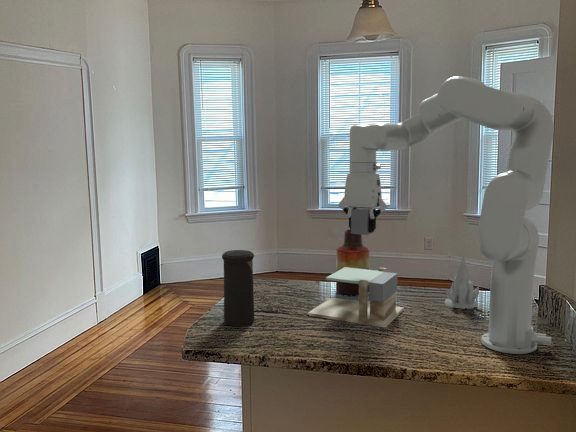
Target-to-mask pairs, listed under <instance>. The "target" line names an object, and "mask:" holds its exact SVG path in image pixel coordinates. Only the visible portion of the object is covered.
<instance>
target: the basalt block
mask: <svg viewBox="0 0 576 432" xmlns="http://www.w3.org/2000/svg"><path fill="white" fill-rule="evenodd" d="M369 219H370V214H369V210H368V208H355V209H351V234H362V236H363V235H365V236H369V235H370V234H373V233H374V232H371V233H369Z"/></svg>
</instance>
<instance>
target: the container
mask: <svg viewBox="0 0 576 432" xmlns="http://www.w3.org/2000/svg"><path fill="white" fill-rule="evenodd" d="M221 257H222V260H223V323H224V325H227V326H231V327H244V326H248V325H252V324H253V323H254V322H255V300H254V299H255V296H254V266H253V265H254V264H253V263H254V262H253V260H254V258H255V254H254V253H253V252H252V251H250V250H245V249H232V250H227V251H225V252H223V253H222V255H221Z"/></svg>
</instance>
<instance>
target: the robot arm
mask: <svg viewBox="0 0 576 432" xmlns="http://www.w3.org/2000/svg"><path fill="white" fill-rule="evenodd" d="M461 120H466V121H469V122H472V123H474V124H477V125H479V126H482V127H485V128H488V129H490V130H494V131H513V132H514V138H513V141H512V144H511V146H510V149H509V152H508V153H509V154H508V161H507V165H506V169H505V172H502V173H499V174H497V175H496V176H494V177H493V178H491V180H490V181H489V182H488V185H487V186H486V189H485V191H484V195H483V197H482V198H483V199H482V205H481V210H480V218H479V220H478V221H479V223H478V228H477V235H476V241H477V246H478V247H477V248H478V250H479V251H480V253H481V255H482V256H483V257H484V258H486V259H487V260H489V261H492V263H491V268H490V269H491V270H490V271H491V272H490V284H489V285H490V287H489V289H490V290H489V306H488V307H489V309H488V329H487V330H488V332H486V333H484V334H483V335H481V338H480V339H481V341H480V342H481V344H482V345H483V346H484V347H485V348H488V349H490V350H491V351H492V350H493V351H496V352H499V353H504V354H511V355H523V354H525V355H526V354H529V353H530V354H531V353H533V352H535V351H537V349H538V344H542V345H544V346H545V345H546V346H552V336H547V334H546V333H539V332H536V331H534V326H532V315H533V314H532V313H533V297H534V296H533V293H534V283H535V269H536V260H537V255H538V250H539V245H540V243H539V242H540V237H539V236H540V234H539V231H538V227H537V226H536V225H535V223H534V221H532V220H531V219H530V218H528V217H526V216H525V215H526V212H527V211H530V210H533V209H535V208H536V207H537V206H539V204H540V203H541V201H542V198H543V194H544V188H545V183H546V178H547V173H548V167H549V159H550V154H551V150H552V144H553V139H554V134H555V133H554V127H555V126H554V120H553V117H552V114H551V112H550V110H549V109H548V107H547V106H545V104H544V103H542V102H541V101H540V100H538V99H537V98H536V97H533V96H531V95H528V94H525V93H520V92H512V91H505V90H501V89H497V88H493V86H488V85H486V84H485V83H484V82H483V81H481V80H480V79H477V78H474V77H469V76H468V77H467V76H463V75H462V76H461V75H456V76H452V77H450V78H447V79H446V80H445V81H444V82H443V83H442V84H441V85H440V87H439V88H438V91H437V93H435V94H434V95H432V96H430V97H428V98H426V99H424V100H422V101H421V102H420V103H419V105H418V112H417V113H416V114H414V115H413V116H411V117H408V118H407V119H405V120H403V121H401V122H398V123H393V122H392V123H391V122H390V123H389V122H388V123H387V122H386V123H384V122H382V123H381V122H380V123H374V124H354V125H352V126H351V127H350V129H349V172H348V173H347V175H346V178H345V184H344V186H345V187H344V194H343V195H344V196H343V198H342V199H341V201H339V202H338V205H337V206H338V207H339V208H340V209H341V210H343V212H344V213H345V214H346V216H347V218H348V227H349V230H350V231H351V209H355V208H368V210H369V214H370V219H369V233H371V232H373V233H374V232H375V230H376V228H377V218H378V216H379V215H380V214H382V213H383V212H384V211H385V210H386V209H388V206H387V204H386V202H385V201H384V199H382V195H383V194H382V184H381V177H380V173H378V170H381V167H382V166H381V164H379V163H378V162H377V152H388V151H389V152H390V151H392V152H393V151H402V150H404V149H407V148H410V147H412V146H415V145H417V144H420V143H422V142H423V141H425V140H427V139H428V138H429V137H431V136H432V135H435V133H436V132H437V131H439V130H441V129H444V128H446V127H448V126H450V125H452V124H454V123H456V122H459V121H461ZM377 208H378V209H377ZM371 234H372V233H371Z"/></svg>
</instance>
